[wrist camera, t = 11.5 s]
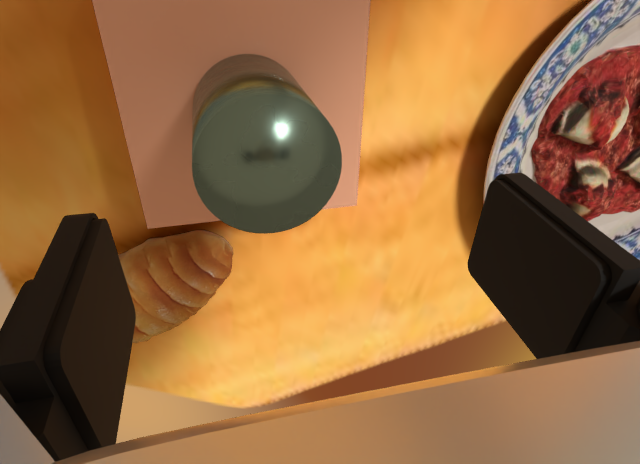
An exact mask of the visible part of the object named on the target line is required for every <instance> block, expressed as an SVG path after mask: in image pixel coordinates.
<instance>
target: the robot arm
mask: <svg viewBox="0 0 640 464" xmlns="http://www.w3.org/2000/svg"><path fill="white" fill-rule="evenodd" d="M468 270H469V272H470V274H471V276H472V277H473V278H474V279H475V281H476V282H477V283H478V285H479V286H480V287H481V288H482V290H483V291H484V292H485V293H486V295H487V296H488V297H489V298H490V300H491V301H492V302H493V304H494V305H495V306H496V307H497V309H498V310H499V311H500V312H501V314H502V315H503V316H504V318H505V319H506V320H507V321H508V323H509V324H510V325H511V326H512V328H513V329H514V330H515V331H516V333H517V334H518V335H519V337H520V338H521V339H522V340H523V341H524V343H525V344H526V345H527V347H528V348H529V349H530V351H531V352H532V353H533V354H534V356H535V357H536V358H537V359H535V360H530V361H525V362H519V363H513V364H508V365H503V366H497V367H492V368H487V369H482V370H477V371H471V372H466V373H461V374H455V375H450V376H445V377H440V378H434V379H429V380H424V381H419V382H414V383H409V384H403V385H398V386H393V387H388V388H383V389H378V390H372V391H367V392H362V393H357V394H351V395H347V396H341V397H336V398H331V399H326V400H321V401H316V402H311V403H306V404H301V405H296V406H291V407H286V408H281V409H275V410H270V411H265V412H260V413H255V414H250V415H245V416H240V417H235V418H230V419H225V420H221V421H216V422H212V423H207V424H202V425H197V426H192V427H188V428H183V429H179V430H174V431H169V432H165V433H160V434H155V435H150V436H146V437H141V438H137V439H133V440H129V441H126V442H121V443H118V444H116V438H117V432H118V425H119V420H120V413H121V407H122V402H123V395H124V389H125V383H126V377H127V371H128V365H129V359H130V353H131V347H132V341H133V335H134V329H135V323H136V313H135V307H134V304H133V301H132V298H131V294H130V291H129V288H128V285H127V282H126V278H125V275H124V272H123V269H122V266H121V262H120V259H119V256H118V253H117V250H116V246H115V243H114V240H113V237H112V234H111V230H110V227H109V224H108V222H107V220H106V219H98V217H97V216H96V214H94V213H88V214H78V215H67V216H64V218H63V219H62V221H61V223H60V225H59V227H58V229H57V232H56V234H55V236H54V238H53V240H52V242H51V244H50V246H49V248H48V250H47V252H46V255H45V257H44V259H43V261H42V263H41V265H40V267H39V269H38V271H37V273H36V275H35V278H34V279H33V280H29V281H27V282H25V284H24V285H23V286H22V288H21V290H20V292H19V294H18V296H17V298H16V300H15V302H14V304H13V306H12V308H11V310H10V312H9V314H8V316H7V318H6V320H5V322H4V324H3V326H2V328H1V330H0V464H640V260H639V259H637V258H636V257H635V256H633V255H632V254H631V253H629V252H628V251H627V250H625V249H624V248H623V247H621V246H620V245H619V244H617V243H616V242H615V241H613V240H612V239H611V238H609V237H608V236H607V235H605V234H604V233H603V232H601V231H600V230H599V229H597V228H596V227H595V226H593V225H592V224H591V223H589V222H588V221H587V220H585V219H584V218H583V217H581V216H580V215H579V214H577V213H576V212H575V211H573V210H572V209H571V208H569V207H568V206H567V205H565V204H564V203H563V202H561V201H560V200H559V199H557V198H556V197H555V196H553V195H552V194H551V193H549V192H548V191H547V190H545V189H544V188H543V187H541V186H540V185H539V184H537V183H536V182H535V181H533V180H532V179H531V178H529V177H528V176H527V175H525V174H523V173H509V174H500V175H498V176H497V177H496V178H495V180H494V181H492V182H491V183H490V184H489V187H488V190H487V194H486V198H485V201H484V205H483V209H482V212H481V216H480V219H479V223H478V227H477V230H476V234H475V238H474V241H473V245H472V248H471V252H470V256H469V259H468Z"/></svg>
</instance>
